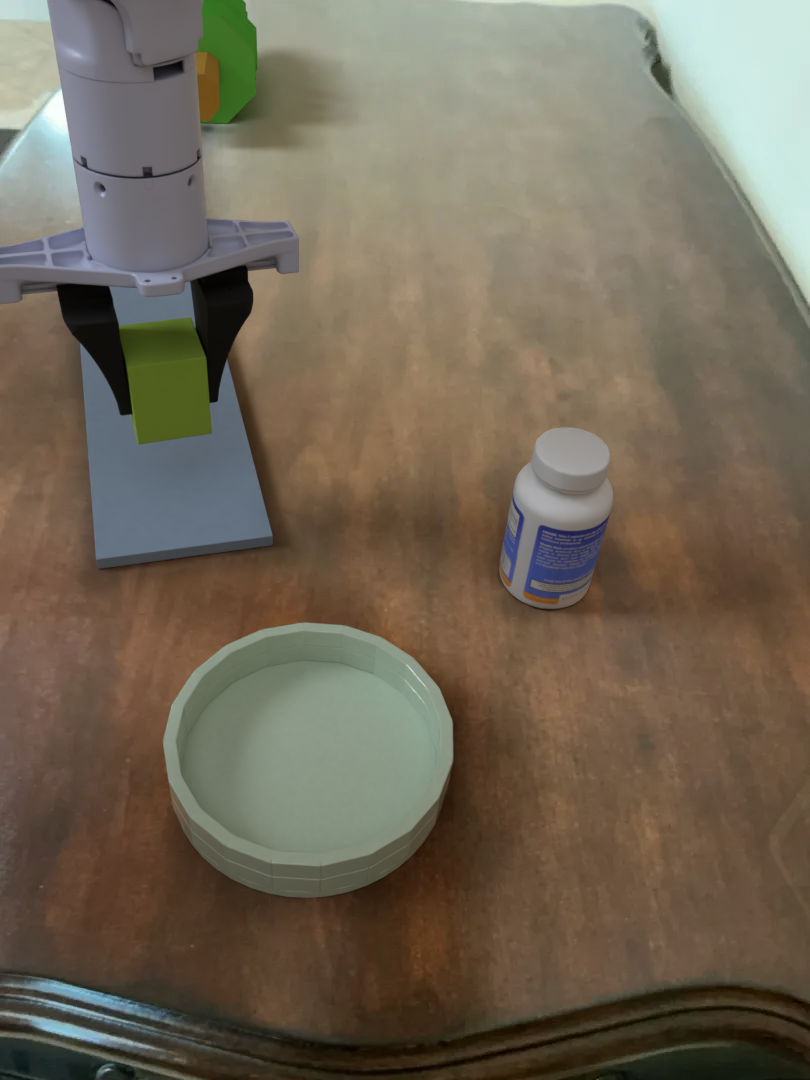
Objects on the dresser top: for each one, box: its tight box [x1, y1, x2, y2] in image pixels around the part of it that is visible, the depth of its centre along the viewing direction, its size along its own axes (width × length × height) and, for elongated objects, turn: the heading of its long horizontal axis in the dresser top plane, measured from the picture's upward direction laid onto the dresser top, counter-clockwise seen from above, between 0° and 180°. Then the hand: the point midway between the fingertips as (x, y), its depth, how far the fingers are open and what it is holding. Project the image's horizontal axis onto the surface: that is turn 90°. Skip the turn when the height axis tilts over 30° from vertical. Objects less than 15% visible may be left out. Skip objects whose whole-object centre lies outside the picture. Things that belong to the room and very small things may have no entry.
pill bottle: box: [498, 426, 614, 610], centre depth 54 cm, size 5×5×10 cm
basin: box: [162, 621, 454, 899], centre depth 46 cm, size 13×13×3 cm
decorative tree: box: [196, 0, 259, 124], centre depth 104 cm, size 11×12×30 cm
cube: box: [119, 317, 212, 445], centre depth 52 cm, size 4×4×5 cm
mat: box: [79, 281, 274, 570], centre depth 68 cm, size 36×10×1 cm, turn 16°
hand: (166, 398), depth 53 cm, fingers closed on cube, 4 cm apart
